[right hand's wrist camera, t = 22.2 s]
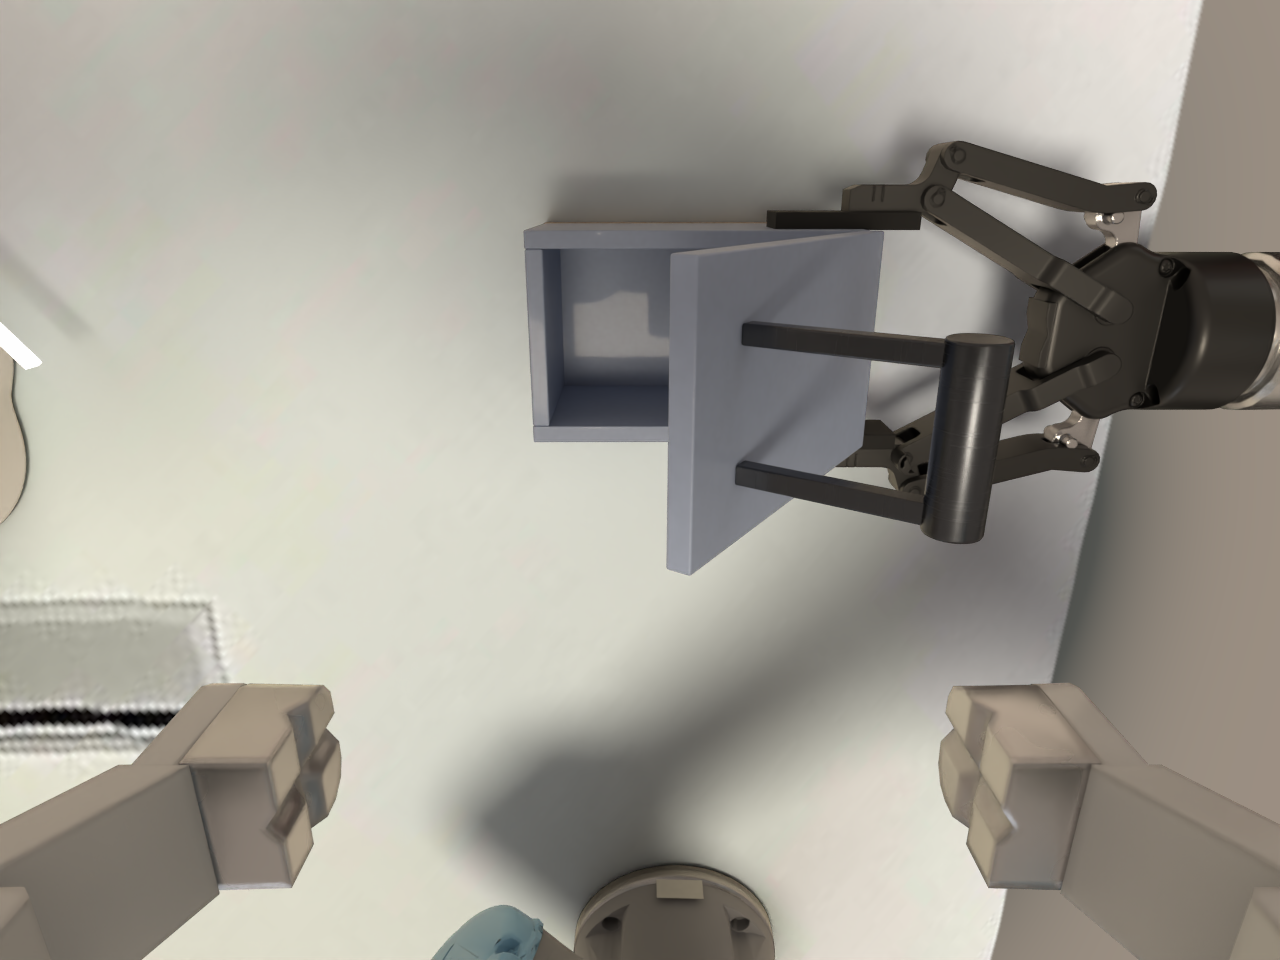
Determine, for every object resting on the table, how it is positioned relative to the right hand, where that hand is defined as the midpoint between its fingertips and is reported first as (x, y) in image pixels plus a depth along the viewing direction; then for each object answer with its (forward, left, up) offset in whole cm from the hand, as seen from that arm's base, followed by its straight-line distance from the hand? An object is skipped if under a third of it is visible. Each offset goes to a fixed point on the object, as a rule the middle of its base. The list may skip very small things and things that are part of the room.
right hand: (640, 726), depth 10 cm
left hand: (+3, +5, -30) cm, 30 cm away
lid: (+3, +4, -20) cm, 21 cm away
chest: (+1, +2, -37) cm, 37 cm away
